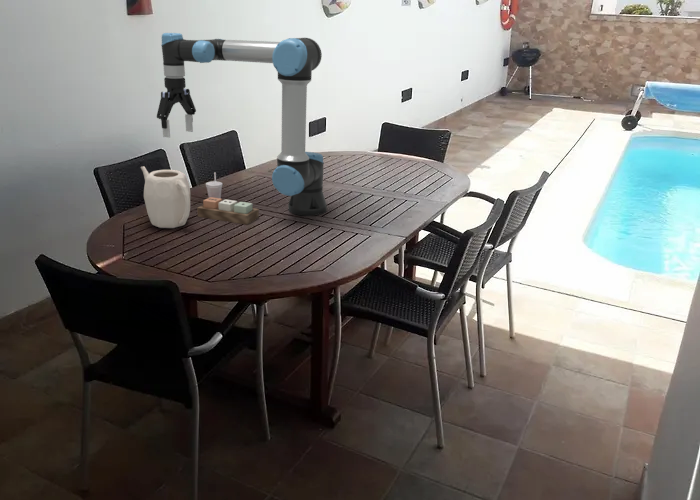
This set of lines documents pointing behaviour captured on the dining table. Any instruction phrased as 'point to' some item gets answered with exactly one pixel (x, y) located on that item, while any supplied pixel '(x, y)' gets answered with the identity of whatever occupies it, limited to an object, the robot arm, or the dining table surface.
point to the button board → (228, 215)
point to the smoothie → (214, 188)
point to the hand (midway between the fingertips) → (178, 134)
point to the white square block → (227, 205)
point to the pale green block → (243, 207)
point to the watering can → (166, 197)
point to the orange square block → (211, 202)
